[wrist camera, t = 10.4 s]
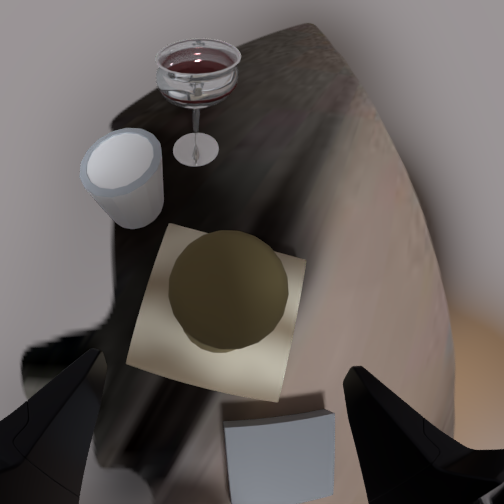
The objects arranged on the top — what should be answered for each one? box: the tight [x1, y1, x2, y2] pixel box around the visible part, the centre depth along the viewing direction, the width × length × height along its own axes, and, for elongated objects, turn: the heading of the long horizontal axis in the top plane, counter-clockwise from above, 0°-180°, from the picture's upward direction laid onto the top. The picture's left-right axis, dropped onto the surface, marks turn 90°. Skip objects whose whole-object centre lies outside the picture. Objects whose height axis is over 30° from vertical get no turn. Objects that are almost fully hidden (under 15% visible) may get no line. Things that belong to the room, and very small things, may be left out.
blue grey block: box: [223, 409, 335, 504], centre depth 18 cm, size 9×9×2 cm
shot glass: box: [80, 128, 164, 229], centre depth 21 cm, size 7×7×7 cm
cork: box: [168, 230, 289, 353], centre depth 15 cm, size 6×6×11 cm
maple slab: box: [126, 223, 306, 402], centre depth 21 cm, size 12×12×2 cm
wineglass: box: [155, 38, 241, 167], centre depth 22 cm, size 7×7×12 cm
